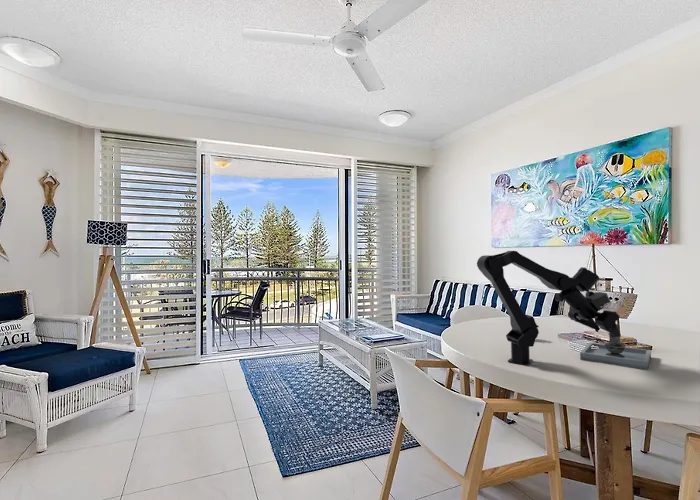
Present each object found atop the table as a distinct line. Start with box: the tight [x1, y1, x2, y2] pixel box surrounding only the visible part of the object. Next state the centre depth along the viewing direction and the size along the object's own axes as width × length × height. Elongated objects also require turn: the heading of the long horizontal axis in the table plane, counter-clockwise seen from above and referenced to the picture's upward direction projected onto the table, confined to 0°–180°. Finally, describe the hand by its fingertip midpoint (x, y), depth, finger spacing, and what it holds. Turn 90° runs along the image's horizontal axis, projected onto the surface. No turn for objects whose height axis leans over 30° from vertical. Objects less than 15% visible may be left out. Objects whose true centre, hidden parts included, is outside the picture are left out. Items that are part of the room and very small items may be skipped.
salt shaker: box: [604, 323, 626, 358], centre depth 128 cm, size 6×6×12 cm
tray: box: [579, 342, 652, 371], centre depth 127 cm, size 18×18×2 cm
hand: (608, 332), depth 127 cm, fingers open, 9 cm apart
